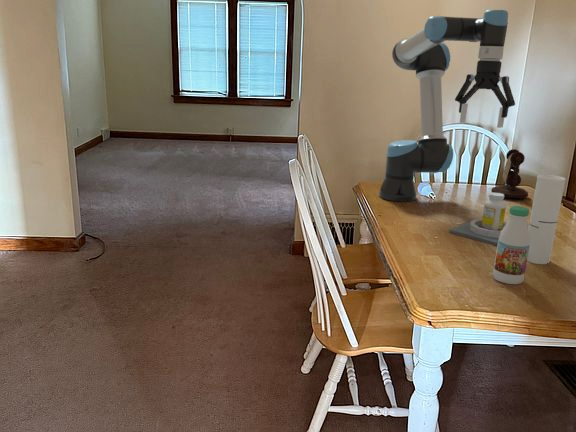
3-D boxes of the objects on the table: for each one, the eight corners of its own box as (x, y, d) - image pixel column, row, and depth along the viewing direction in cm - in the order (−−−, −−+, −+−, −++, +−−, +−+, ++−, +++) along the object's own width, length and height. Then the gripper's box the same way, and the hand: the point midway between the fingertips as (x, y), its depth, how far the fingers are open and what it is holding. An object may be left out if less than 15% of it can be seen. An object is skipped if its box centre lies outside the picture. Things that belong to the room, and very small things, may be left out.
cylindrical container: (547, 266, 151) (564, 181, 144) (521, 260, 155) (535, 177, 147) (550, 258, 157) (566, 176, 150) (525, 253, 161) (539, 173, 153)
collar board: (448, 232, 178) (450, 223, 177) (477, 221, 191) (478, 213, 190) (506, 248, 164) (507, 239, 163) (533, 235, 177) (534, 227, 176)
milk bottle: (487, 273, 145) (498, 203, 139) (514, 273, 145) (526, 203, 139) (500, 285, 137) (512, 212, 131) (528, 285, 138) (542, 212, 132)
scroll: (487, 191, 235) (494, 146, 229) (521, 193, 233) (529, 148, 227) (495, 199, 221) (502, 152, 215) (531, 202, 219) (540, 154, 213)
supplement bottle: (498, 228, 180) (504, 192, 176) (504, 234, 174) (510, 197, 170) (478, 227, 181) (484, 191, 177) (483, 233, 174) (489, 196, 171)
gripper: (449, 58, 179) (442, 121, 186) (522, 61, 162) (511, 130, 168) (461, 59, 184) (453, 120, 191) (532, 61, 167) (521, 128, 173)
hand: (480, 125), depth 179 cm, fingers open, 13 cm apart
